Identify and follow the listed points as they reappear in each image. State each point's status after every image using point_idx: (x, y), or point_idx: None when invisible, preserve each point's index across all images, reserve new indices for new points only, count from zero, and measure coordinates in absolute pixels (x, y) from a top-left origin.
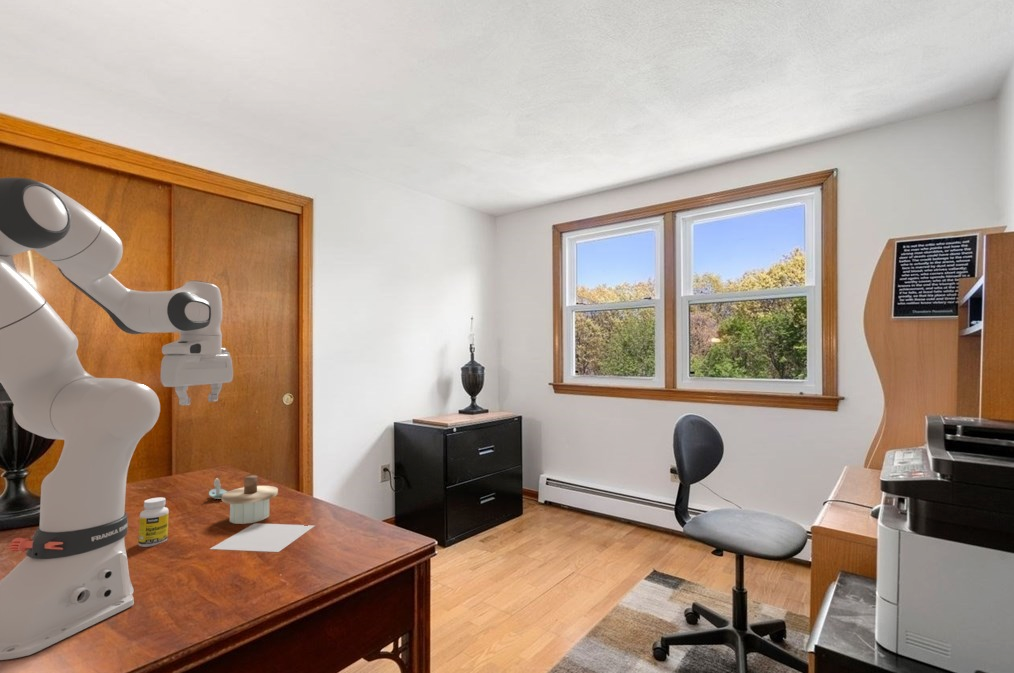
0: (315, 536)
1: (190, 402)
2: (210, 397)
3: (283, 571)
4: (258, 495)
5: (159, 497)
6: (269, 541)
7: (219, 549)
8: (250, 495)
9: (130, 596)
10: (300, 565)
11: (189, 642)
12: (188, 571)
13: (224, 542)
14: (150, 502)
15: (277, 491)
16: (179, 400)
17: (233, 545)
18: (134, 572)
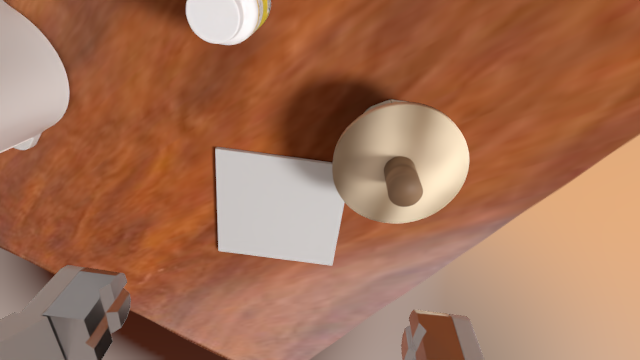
0: (292, 272)
1: (122, 323)
2: (415, 352)
3: (169, 270)
4: (367, 198)
5: (237, 11)
6: (257, 225)
7: (216, 166)
8: (369, 181)
9: (28, 142)
10: (189, 281)
11: (7, 245)
12: (139, 157)
13: (246, 159)
14: (188, 19)
15: (407, 220)
16: (38, 294)
17: (234, 180)
18: (113, 70)
